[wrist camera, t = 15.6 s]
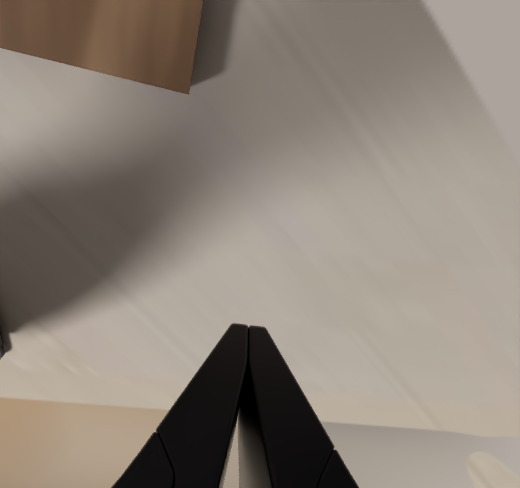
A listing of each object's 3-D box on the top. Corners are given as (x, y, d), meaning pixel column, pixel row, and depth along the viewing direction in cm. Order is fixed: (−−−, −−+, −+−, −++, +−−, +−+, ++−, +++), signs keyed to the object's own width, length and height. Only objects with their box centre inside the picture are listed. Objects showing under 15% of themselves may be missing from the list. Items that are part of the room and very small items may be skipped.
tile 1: (183, 89, 17) (-19, 38, 14) (199, -23, 15) (-34, -117, 12) (188, 94, 16) (-35, 39, 12) (207, -29, 14) (-57, -137, 10)
